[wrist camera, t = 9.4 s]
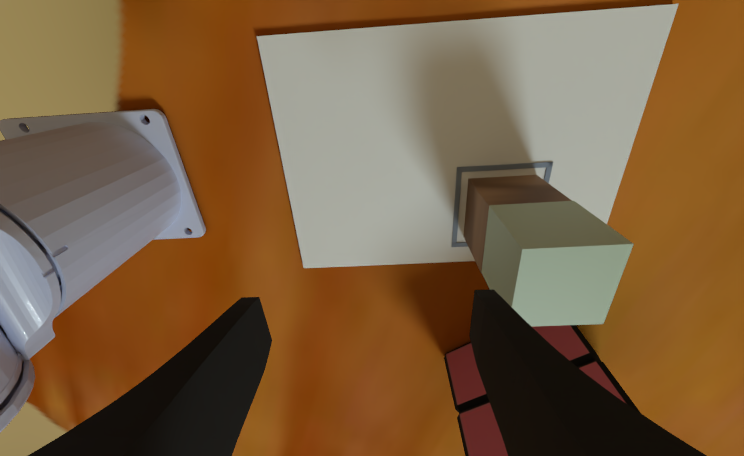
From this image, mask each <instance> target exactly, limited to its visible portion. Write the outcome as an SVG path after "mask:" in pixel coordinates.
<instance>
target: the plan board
mask: <svg viewBox="0 0 744 456" xmlns="http://www.w3.org/2000/svg"><path fill="white" fill-rule="evenodd" d="M677 7H678V4H668V5H655V6H642V7H629V8H616V9H603V10H590V11H577V12H564V13H552V14H539V15H526V16H513V17H500V18H487V19H474V20H461V21H448V22H435V23H422V24H409V25H396V26H383V27H370V28H357V29H344V30H331V31H318V32H305V33H293V34H280V35H267V36H257V41H258V45H259V50H260V55H261V60H262V65H263V70H264V75H265V80H266V85H267V90H268V95H269V100H270V105H271V110H272V114H273V119H274V124H275V129H276V134H277V139H278V144H279V149H280V154H281V159H282V164H283V169H284V174H285V178H286V183H287V188H288V193H289V198H290V203H291V208H292V213H293V218H294V223H295V228H296V233H297V238H298V243H299V247H300V252H301V257H302V262H303V267H304V268H321V267H345V266H368V265H392V264H416V263H440V262H464V261H475V260H474V257H473V255H472V253H471V251H470V249H469V247H468V245H467V243H466V241H465V239H464V237H463V236H464V224H465V212H466V200H467V189H468V178H486V177H505V176H524V175H538V176H539V177H540V178H542V179H543V180H545V181H546V182H547V183H549V184H550V185H551V186H553V187H554V188H555V189H557V190H558V191H560V192H561V193H562V194H564V195H565V196H566V197H568V198H569V199H570V200H572V201H575V202H577V203H578V204H579V205H581V206H582V207H583V208H585V209H586V210H588V211H589V212H590V213H592V214H593V215H594V216H596V217H597V218H599V219H600V220H601V221H603V222H604V223H606V224H607V222H608V219H609V216H610V213H611V210H612V207H613V203H614V200H615V197H616V194H617V191H618V188H619V185H620V182H621V179H622V176H623V173H624V170H625V167H626V164H627V161H628V157H629V154H630V151H631V148H632V145H633V142H634V139H635V136H636V133H637V130H638V127H639V124H640V121H641V118H642V115H643V111H644V108H645V105H646V102H647V99H648V96H649V93H650V90H651V87H652V84H653V81H654V78H655V75H656V72H657V69H658V65H659V62H660V59H661V56H662V53H663V50H664V47H665V44H666V41H667V38H668V35H669V32H670V29H671V26H672V23H673V20H674V16H675V13H676V10H677Z"/></svg>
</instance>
